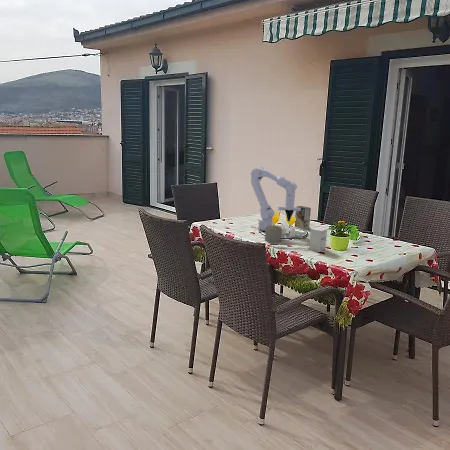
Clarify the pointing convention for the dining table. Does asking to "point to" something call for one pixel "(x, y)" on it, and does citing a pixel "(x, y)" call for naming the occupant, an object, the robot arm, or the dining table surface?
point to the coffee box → (302, 217)
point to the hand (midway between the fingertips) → (288, 221)
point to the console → (287, 235)
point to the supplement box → (317, 239)
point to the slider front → (292, 233)
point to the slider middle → (283, 230)
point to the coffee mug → (273, 234)
